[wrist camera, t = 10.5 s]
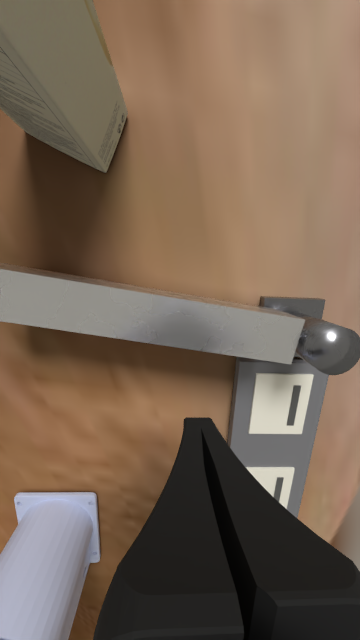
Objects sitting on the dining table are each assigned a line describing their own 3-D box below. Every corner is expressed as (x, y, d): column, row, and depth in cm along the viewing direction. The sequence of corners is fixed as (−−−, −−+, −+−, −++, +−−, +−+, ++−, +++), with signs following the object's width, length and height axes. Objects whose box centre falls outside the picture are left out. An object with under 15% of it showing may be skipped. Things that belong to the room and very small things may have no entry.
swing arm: (6, 305, 16) (-39, 315, 12) (5, 263, 15) (-43, 261, 12) (268, 345, 17) (291, 364, 14) (278, 309, 16) (305, 319, 13)
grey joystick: (308, 353, 19) (367, 390, 13) (253, 352, 19) (289, 389, 13) (318, 298, 18) (388, 312, 12) (260, 296, 18) (303, 309, 12)
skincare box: (130, 112, 15) (-52, -571, 3) (107, 177, 15) (-109, -130, 4) (37, 59, 14) (-813, -1269, 2) (18, 130, 15) (-654, -479, 3)
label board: (291, 510, 24) (298, 524, 22) (219, 511, 23) (222, 524, 22) (323, 359, 19) (333, 365, 18) (236, 357, 19) (241, 363, 18)
